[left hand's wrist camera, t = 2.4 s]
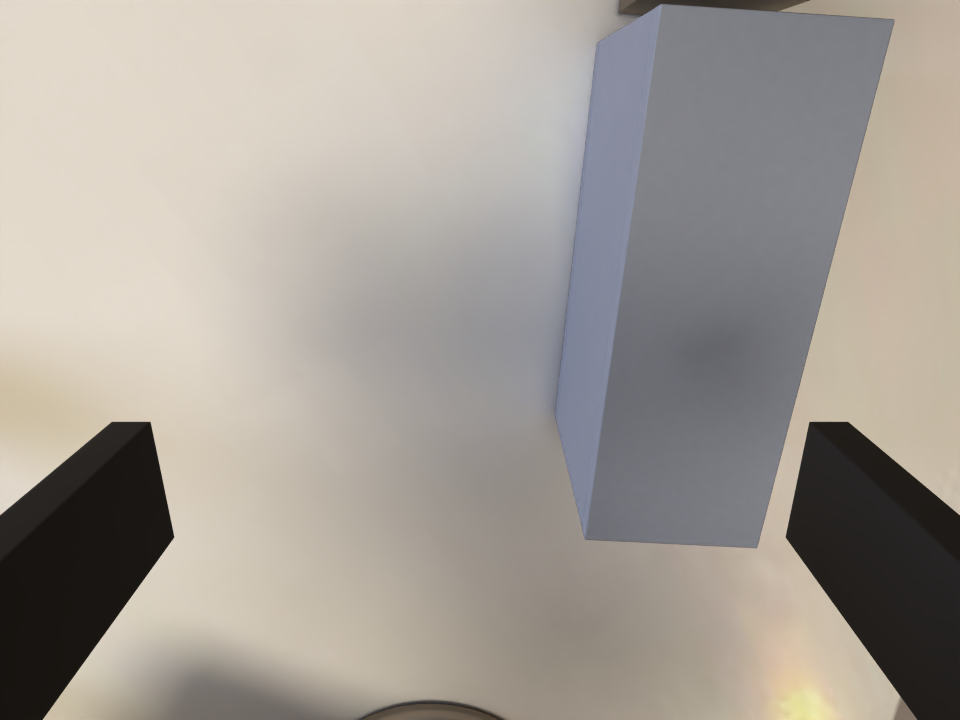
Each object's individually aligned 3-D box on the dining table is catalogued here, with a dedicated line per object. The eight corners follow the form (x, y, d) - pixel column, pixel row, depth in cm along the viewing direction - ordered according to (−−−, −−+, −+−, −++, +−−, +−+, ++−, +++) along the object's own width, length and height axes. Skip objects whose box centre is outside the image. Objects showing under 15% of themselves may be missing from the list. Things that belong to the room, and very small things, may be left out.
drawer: (643, -197, 23) (727, -357, 15) (786, -186, 23) (943, -340, 15) (575, 366, 31) (607, 452, 23) (682, 371, 31) (750, 460, 23)
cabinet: (596, 42, 27) (660, 3, 17) (748, 52, 27) (895, 19, 17) (554, 416, 33) (584, 540, 24) (678, 423, 33) (757, 548, 24)
